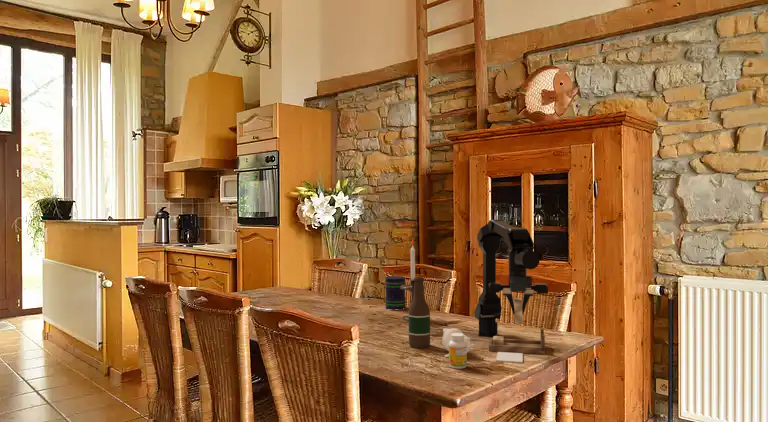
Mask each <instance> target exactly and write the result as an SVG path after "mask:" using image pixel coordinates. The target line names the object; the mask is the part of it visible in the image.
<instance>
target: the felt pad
mask: <svg viewBox="0 0 768 422" xmlns="http://www.w3.org/2000/svg"><path fill="white" fill-rule="evenodd" d="M523 354H524V353H515V352H497V355H496V357H495V358H496V360H495V361H496V362H500V363H504V362H505V363H516V364H518V363H521V364H523V361H524V360H523V358H524V356H523Z"/></svg>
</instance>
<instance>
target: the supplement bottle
mask: <svg viewBox="0 0 768 422" xmlns="http://www.w3.org/2000/svg"><path fill="white" fill-rule="evenodd" d="M464 335H465V334H464V333H463V334H462V333H453V334H451V339H452V341H450V342H449V351H448V354H449V357H448V365H449V367H450V368H452V369H457V370H458V369H460V370H462V369H465V368H466V367H467V365H468V362H467V361H468V360H467V359H468V356H467V355H468V354H467V353H468V352H467V344H466V342H465V341H464Z"/></svg>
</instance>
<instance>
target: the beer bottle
mask: <svg viewBox="0 0 768 422" xmlns="http://www.w3.org/2000/svg"><path fill="white" fill-rule="evenodd" d="M424 278H425V277H423V276H415V277H414V281H415V282H414V297H413V301H412V302H411V304H410V303H409V304H410V305H409V307H408V315H409V321H408V345H409V347H410V348H414V349H426V348H430V346H431V310H430V306H429V305H428V302H427V301H426V298H425V289H424V284H425V283H424V281H425V279H424Z"/></svg>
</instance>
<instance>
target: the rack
mask: <svg viewBox="0 0 768 422" xmlns="http://www.w3.org/2000/svg"><path fill="white" fill-rule="evenodd" d="M544 331H545V330H544V328H542V329H541V328H540V340H536V339H535V340H533V339H532V340H531V339H518V338H517V339H511V338H504V345H493V337H490V338H489V339H490V340H489V342H488V352H497V353H498V352H508V353H523V354H534V355H545V354H546V353H545V352H546V347H545V346H546V345H545V343H546V342H545V341H546V340H545V339H546V336H545V334H544V333H545V332H544Z"/></svg>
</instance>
